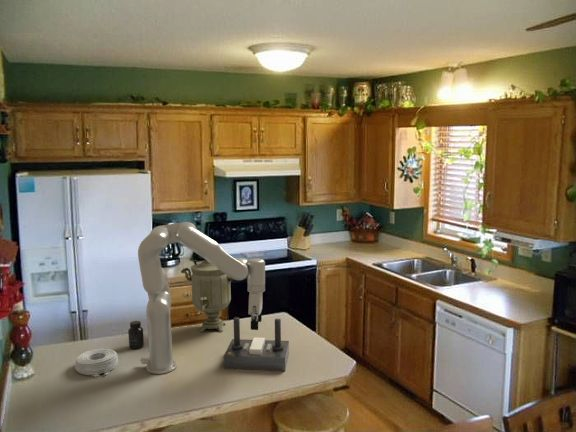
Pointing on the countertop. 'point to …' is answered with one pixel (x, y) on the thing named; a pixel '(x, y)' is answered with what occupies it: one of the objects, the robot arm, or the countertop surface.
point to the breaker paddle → (257, 346)
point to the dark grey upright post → (237, 335)
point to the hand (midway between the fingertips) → (256, 325)
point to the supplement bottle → (135, 335)
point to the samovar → (209, 292)
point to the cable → (96, 362)
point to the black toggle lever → (277, 336)
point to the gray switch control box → (256, 357)
